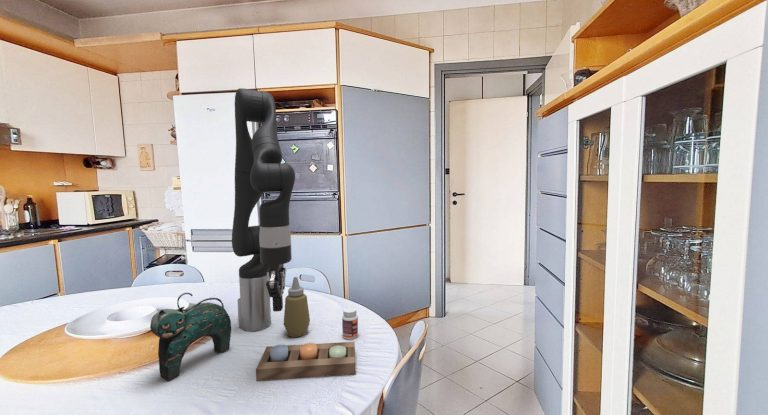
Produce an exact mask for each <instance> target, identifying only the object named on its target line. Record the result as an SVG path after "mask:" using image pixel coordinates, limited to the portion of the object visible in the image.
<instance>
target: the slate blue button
mask: <svg viewBox="0 0 768 415" xmlns="http://www.w3.org/2000/svg"><path fill="white" fill-rule="evenodd" d="M286 345H287V344H277V345H273V346H274V347H272V348H271V349H270V358H271V362H279V361H288V346H286Z"/></svg>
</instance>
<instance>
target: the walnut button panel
mask: <svg viewBox="0 0 768 415" xmlns="http://www.w3.org/2000/svg"><path fill="white" fill-rule="evenodd" d="M315 344H316V345H317V354H318V358H317V359H312V360H300V347H301V346H302V345H303V344H293V345H292V344H289V345H287V344H285V345H286V346H288V361H279V362H271V358H270V349H271V348H272V347H274V346H275V345H272V346H270V345H269V346H266V347H265V349H264V351H263V353H262V355H261V357H260V359H259V361H258V365H257V366H256V368H255V378H256V379H255V381H256V382H261V381H263V382H264V381H265V382H266V381H276V380H292V379H307V378H320V377H322V378H323V377H337V376H338V377H339V376H347V375H348V376H349V375H356V372H357V371H356V346H355V345H356V344H355V341H343V342H326V343H325V342H322V343H315ZM338 345H340V346H344V347H346V357H344V358H330V357H329V349H330V348H331V347H333V346H338Z"/></svg>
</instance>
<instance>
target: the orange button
mask: <svg viewBox="0 0 768 415" xmlns="http://www.w3.org/2000/svg"><path fill="white" fill-rule="evenodd" d="M316 344H317V343H313V342H307V343H304V344H301V345H302V346H301V347H300V360H312V359H317V358H318V354H317V345H316Z"/></svg>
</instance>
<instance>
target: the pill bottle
mask: <svg viewBox="0 0 768 415" xmlns="http://www.w3.org/2000/svg"><path fill="white" fill-rule="evenodd" d="M342 311H343V315H342V317H341V318H342V319H341V321H342V322H341V323H342V337H343V338H344V339H345V340H355V339H357V337H358V336H359V327H358V326H359V324H358V322H359V315H357V309H356V308H355V307H345V308H344V309H343V310H342Z"/></svg>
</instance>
